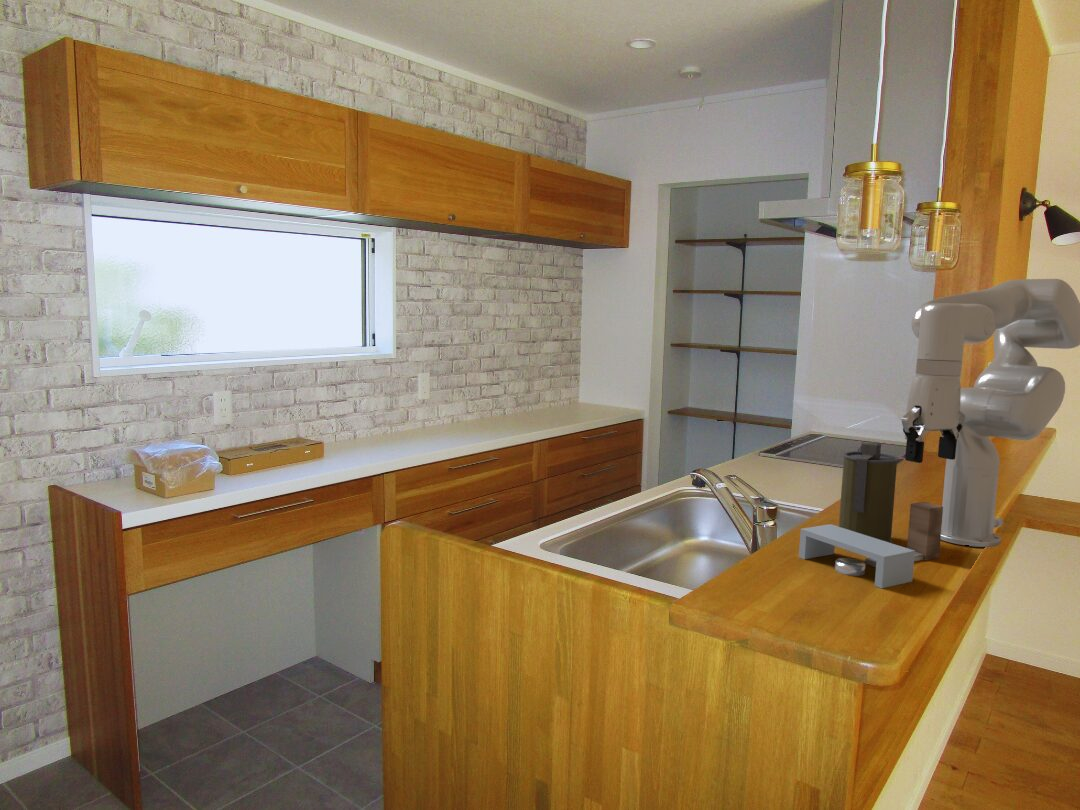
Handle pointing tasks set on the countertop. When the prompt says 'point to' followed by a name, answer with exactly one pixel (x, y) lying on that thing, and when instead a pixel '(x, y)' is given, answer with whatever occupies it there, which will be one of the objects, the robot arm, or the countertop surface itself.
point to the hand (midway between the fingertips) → (930, 459)
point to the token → (850, 566)
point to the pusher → (922, 531)
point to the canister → (868, 491)
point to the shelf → (860, 552)
